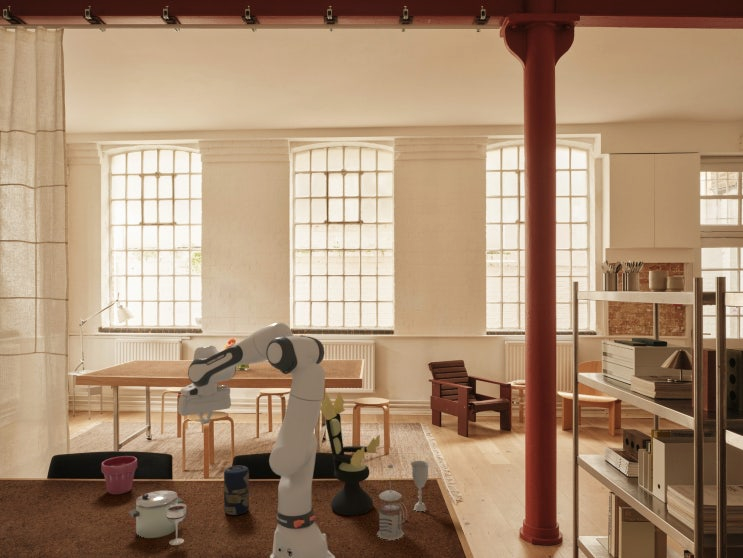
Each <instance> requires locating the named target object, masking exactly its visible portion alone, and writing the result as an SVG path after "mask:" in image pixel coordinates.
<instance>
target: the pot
mask: <svg viewBox="0 0 743 558" xmlns="http://www.w3.org/2000/svg"><path fill="white" fill-rule="evenodd" d="M176 503H183V504H184V500H183V499H182V498H181V497H177V499H176V500H175V501H174V502H172V503H170V504H167V505H163V506H158V507H140V506H138V505H137V504H135V506H136V508H134V509H131V510H129V515H130V516H131V517H132V518H135V519H136V521H135V523H136V524H135V525H136V526H135V528H136V535H137V536H138V535H139V536H138V537H140V536H141V537H140V538H143V537H144V539H154V538H157V539H158V538H162V537H165V536H168V535H171V534H173V533H174V532H176V528H175V524H174V523H173V522H170V521H169V520H168V519H167V517H166V512H167V509H166V508H167V507H168V506H169V505H172V504H176Z"/></svg>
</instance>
